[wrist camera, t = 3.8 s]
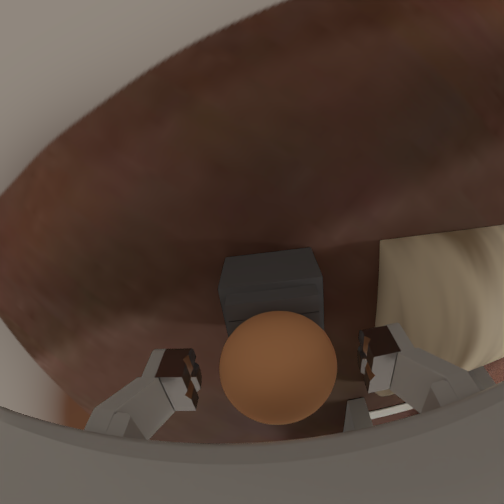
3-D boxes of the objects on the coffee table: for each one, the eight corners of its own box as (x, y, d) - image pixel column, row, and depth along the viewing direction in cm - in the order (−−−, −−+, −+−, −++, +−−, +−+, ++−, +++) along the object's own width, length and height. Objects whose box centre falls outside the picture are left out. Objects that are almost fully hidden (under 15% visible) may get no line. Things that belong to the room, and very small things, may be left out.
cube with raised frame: (310, 247, 14) (326, 286, 11) (314, 317, 16) (327, 366, 12) (225, 257, 14) (214, 299, 11) (238, 326, 16) (233, 377, 12)
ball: (325, 283, 11) (353, 356, 7) (326, 363, 12) (343, 437, 9) (215, 295, 11) (197, 372, 7) (234, 373, 13) (227, 448, 9)
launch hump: (455, 198, 19) (548, 248, 9) (441, 311, 22) (499, 387, 13) (347, 207, 19) (416, 275, 10) (348, 330, 23) (383, 429, 14)
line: (462, 384, 18) (462, 385, 18) (458, 392, 19) (459, 393, 18) (362, 413, 19) (362, 414, 19) (360, 420, 19) (361, 421, 19)
